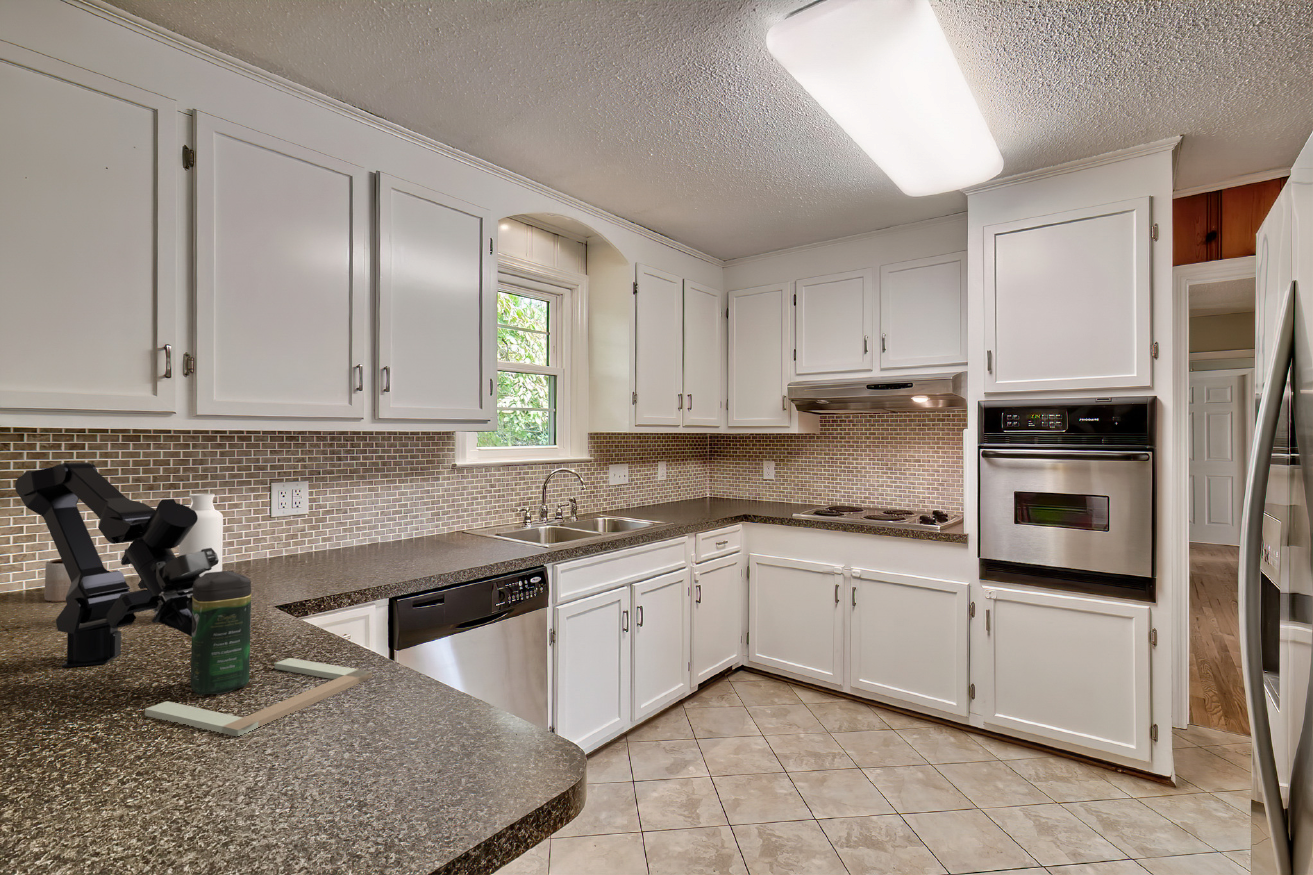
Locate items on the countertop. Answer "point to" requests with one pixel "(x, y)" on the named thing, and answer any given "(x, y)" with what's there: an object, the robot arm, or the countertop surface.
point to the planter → (56, 581)
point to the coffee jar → (220, 632)
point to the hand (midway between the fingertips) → (201, 637)
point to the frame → (240, 725)
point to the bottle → (204, 530)
